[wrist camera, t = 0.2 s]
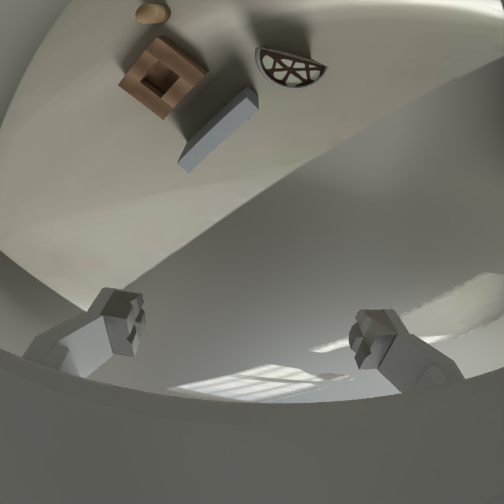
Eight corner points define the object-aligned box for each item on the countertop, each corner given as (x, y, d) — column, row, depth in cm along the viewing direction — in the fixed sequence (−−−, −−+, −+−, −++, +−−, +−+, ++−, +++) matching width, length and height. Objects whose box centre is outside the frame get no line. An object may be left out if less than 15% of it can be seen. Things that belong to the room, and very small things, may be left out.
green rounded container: (248, 72, 47) (247, 82, 40) (255, 44, 43) (255, 48, 36) (309, 87, 49) (320, 100, 42) (318, 60, 44) (330, 68, 37)
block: (164, 35, 40) (156, 37, 37) (209, 71, 46) (205, 75, 43) (127, 79, 46) (117, 85, 42) (169, 112, 52) (163, 119, 49)
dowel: (160, 1, 35) (146, -1, 29) (175, 12, 37) (162, 10, 31) (146, 16, 37) (131, 16, 31) (161, 26, 39) (147, 27, 33)
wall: (247, 85, 49) (246, 97, 42) (258, 95, 50) (258, 109, 43) (187, 142, 58) (176, 163, 51) (197, 150, 59) (188, 172, 52)
